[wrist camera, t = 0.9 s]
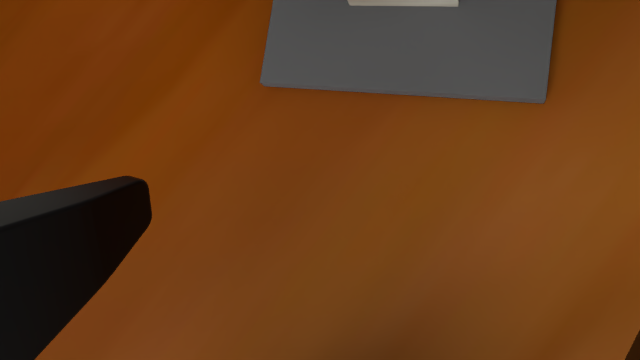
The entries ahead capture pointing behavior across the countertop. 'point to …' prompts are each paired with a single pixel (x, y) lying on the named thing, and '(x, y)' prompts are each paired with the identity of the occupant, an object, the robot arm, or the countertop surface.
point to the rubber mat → (413, 48)
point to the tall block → (404, 3)
